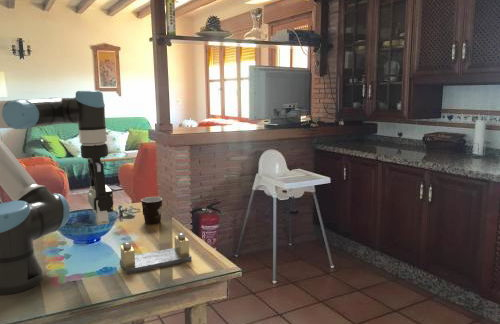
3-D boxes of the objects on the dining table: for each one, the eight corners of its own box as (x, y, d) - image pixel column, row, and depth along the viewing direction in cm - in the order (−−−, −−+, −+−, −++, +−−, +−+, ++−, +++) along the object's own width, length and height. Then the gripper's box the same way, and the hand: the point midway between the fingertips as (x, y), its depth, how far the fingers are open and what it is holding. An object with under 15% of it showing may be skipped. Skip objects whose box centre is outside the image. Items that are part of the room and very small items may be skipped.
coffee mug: (154, 217, 187) (153, 195, 186) (167, 221, 182) (166, 198, 180) (132, 224, 179) (130, 201, 177) (144, 229, 173) (143, 205, 171)
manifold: (127, 274, 132) (125, 249, 131) (120, 262, 141) (118, 239, 140) (191, 260, 142) (190, 237, 141) (181, 250, 151) (180, 228, 149)
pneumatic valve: (105, 216, 137) (104, 179, 134) (114, 228, 127) (113, 188, 125) (87, 218, 134) (85, 181, 131) (95, 230, 124) (93, 190, 122)
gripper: (113, 147, 118) (119, 224, 122) (101, 138, 138) (107, 205, 142) (84, 149, 114) (91, 228, 118) (76, 140, 135) (82, 208, 139)
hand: (100, 216), depth 130 cm, fingers closed on pneumatic valve, 11 cm apart
